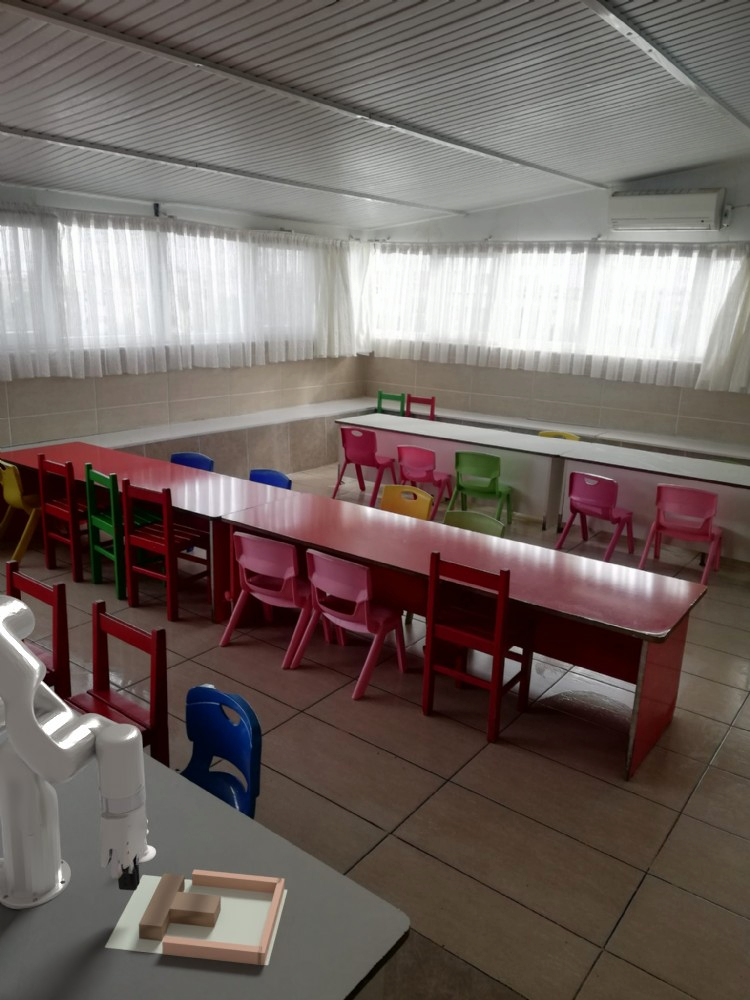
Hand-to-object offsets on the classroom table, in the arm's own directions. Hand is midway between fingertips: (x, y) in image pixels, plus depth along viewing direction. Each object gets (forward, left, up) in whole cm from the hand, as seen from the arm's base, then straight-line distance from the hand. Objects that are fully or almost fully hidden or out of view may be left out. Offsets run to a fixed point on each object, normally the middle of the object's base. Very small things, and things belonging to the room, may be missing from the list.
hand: (129, 886), depth 133 cm
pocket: (+18, 0, -5) cm, 18 cm away
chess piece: (-3, +14, -6) cm, 16 cm away
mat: (+13, 0, -6) cm, 14 cm away
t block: (+10, 0, -5) cm, 11 cm away
